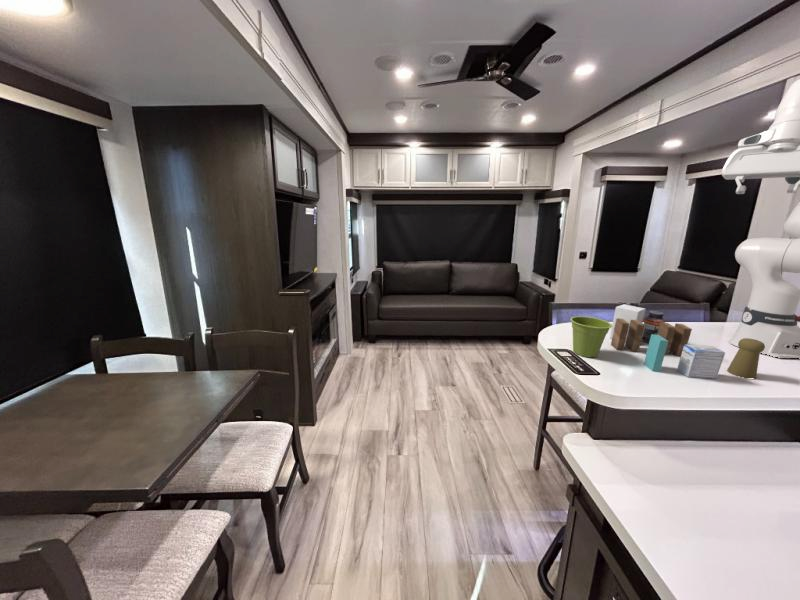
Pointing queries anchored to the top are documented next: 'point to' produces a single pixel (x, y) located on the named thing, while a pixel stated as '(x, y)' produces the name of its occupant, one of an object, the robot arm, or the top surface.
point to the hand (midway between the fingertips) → (764, 192)
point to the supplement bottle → (651, 325)
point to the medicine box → (700, 361)
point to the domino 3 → (655, 353)
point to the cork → (746, 358)
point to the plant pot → (588, 335)
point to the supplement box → (627, 315)
